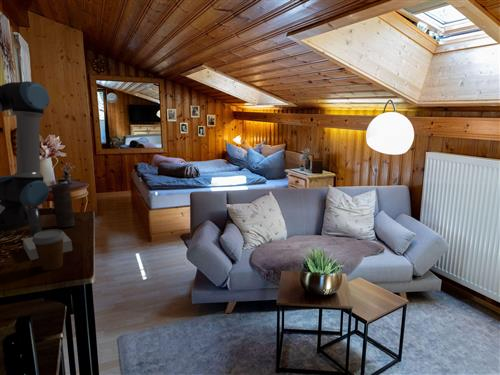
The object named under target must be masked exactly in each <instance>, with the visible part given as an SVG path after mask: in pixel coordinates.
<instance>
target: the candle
mask: <svg viewBox="0 0 500 375" xmlns="http://www.w3.org/2000/svg"><path fill="white" fill-rule="evenodd" d="M51 193H52V201H53V207H54V216H55V223H56V224H55V225H56V227H60V228H68V227H74V226H75V225H76V224H75V216H74V210H73V204H72V203H73V202H72V195H71V187H70V183H56V184H55V185H53V186H51Z"/></svg>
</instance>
